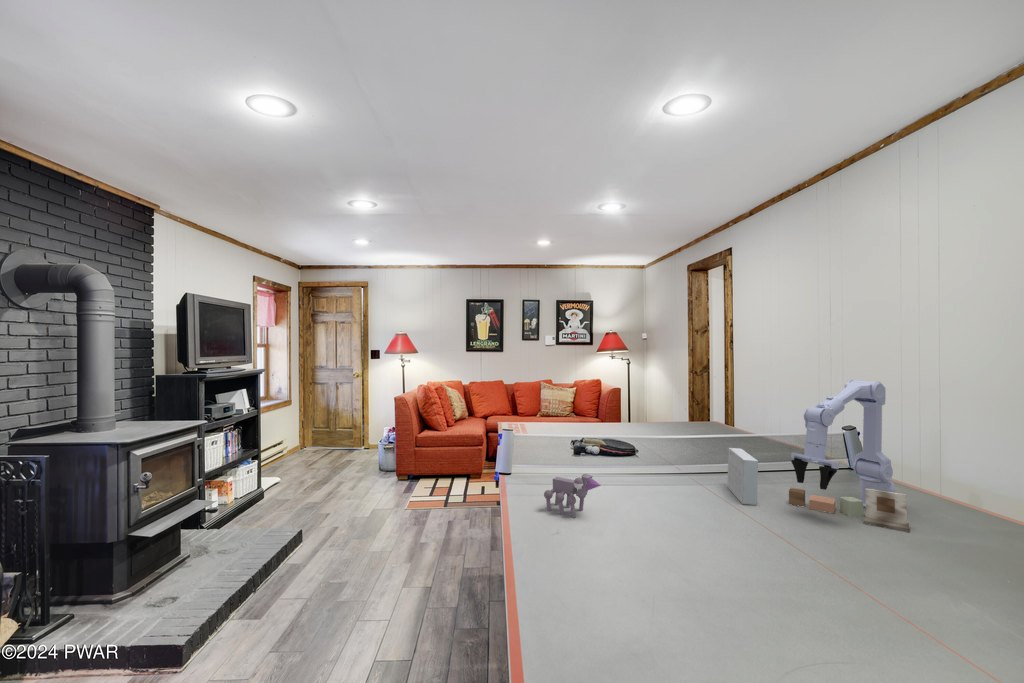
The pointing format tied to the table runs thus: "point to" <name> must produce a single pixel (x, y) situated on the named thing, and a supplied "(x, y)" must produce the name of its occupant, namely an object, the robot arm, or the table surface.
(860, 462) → the robot arm
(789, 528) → the table surface
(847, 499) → the sage block
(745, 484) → the skincare box
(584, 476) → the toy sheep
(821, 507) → the base block
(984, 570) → the table surface
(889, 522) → the card
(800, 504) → the walnut block
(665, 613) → the table surface
